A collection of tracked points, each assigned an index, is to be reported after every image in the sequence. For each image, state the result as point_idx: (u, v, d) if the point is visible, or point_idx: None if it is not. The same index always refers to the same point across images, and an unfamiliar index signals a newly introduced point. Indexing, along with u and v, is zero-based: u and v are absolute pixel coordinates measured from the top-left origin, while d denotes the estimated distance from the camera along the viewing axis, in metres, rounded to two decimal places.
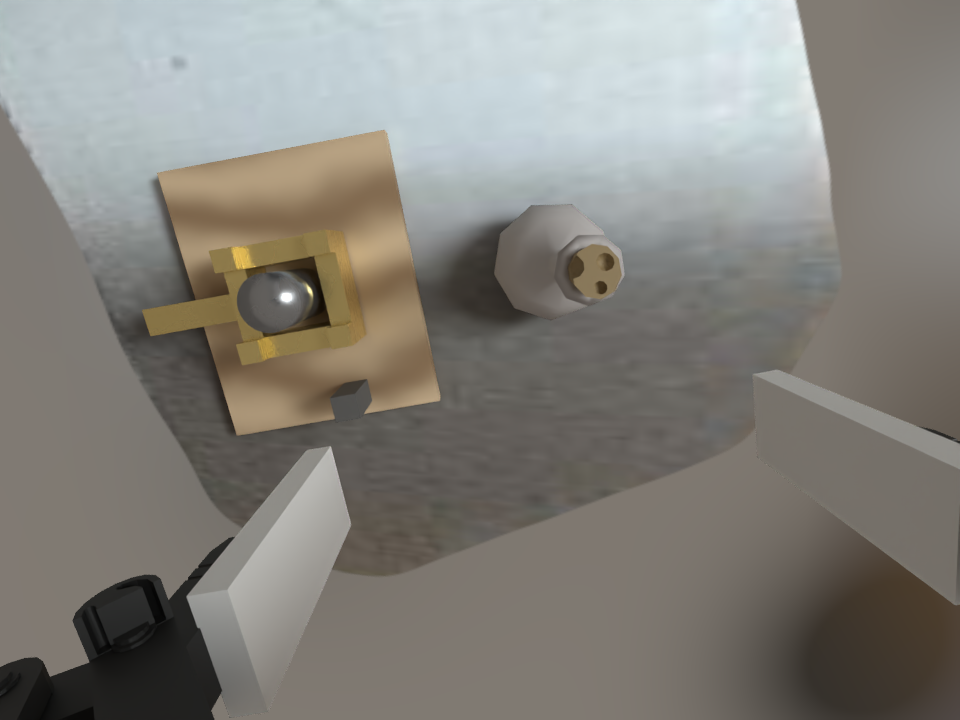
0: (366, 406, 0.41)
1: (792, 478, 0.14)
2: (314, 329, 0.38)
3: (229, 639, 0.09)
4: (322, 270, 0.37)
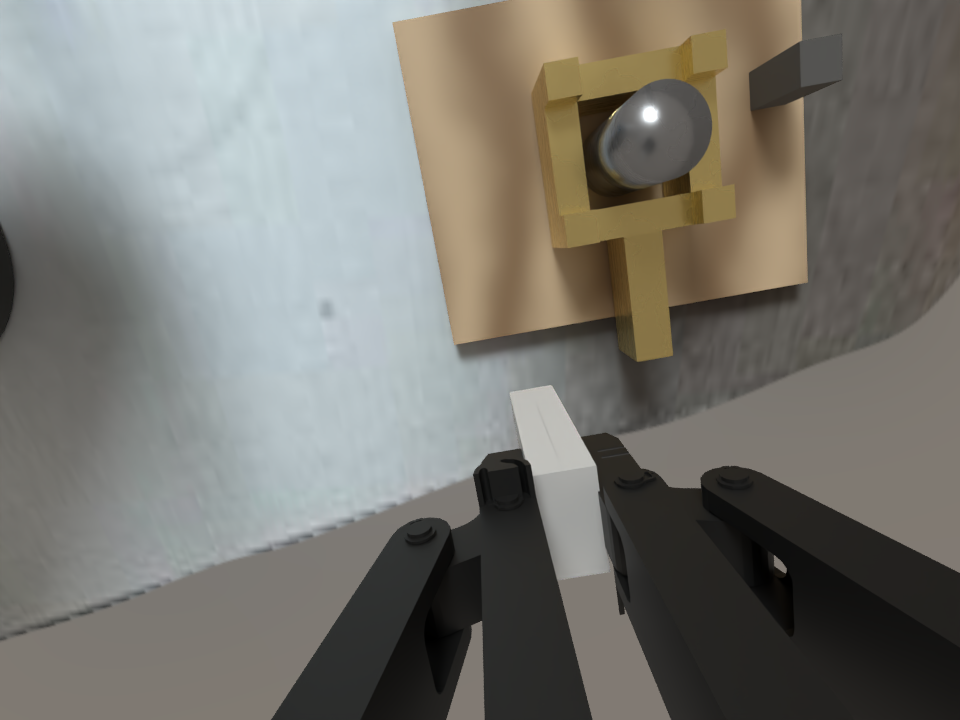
0: None
1: None
2: None
3: (558, 513, 0.11)
4: (598, 89, 0.24)
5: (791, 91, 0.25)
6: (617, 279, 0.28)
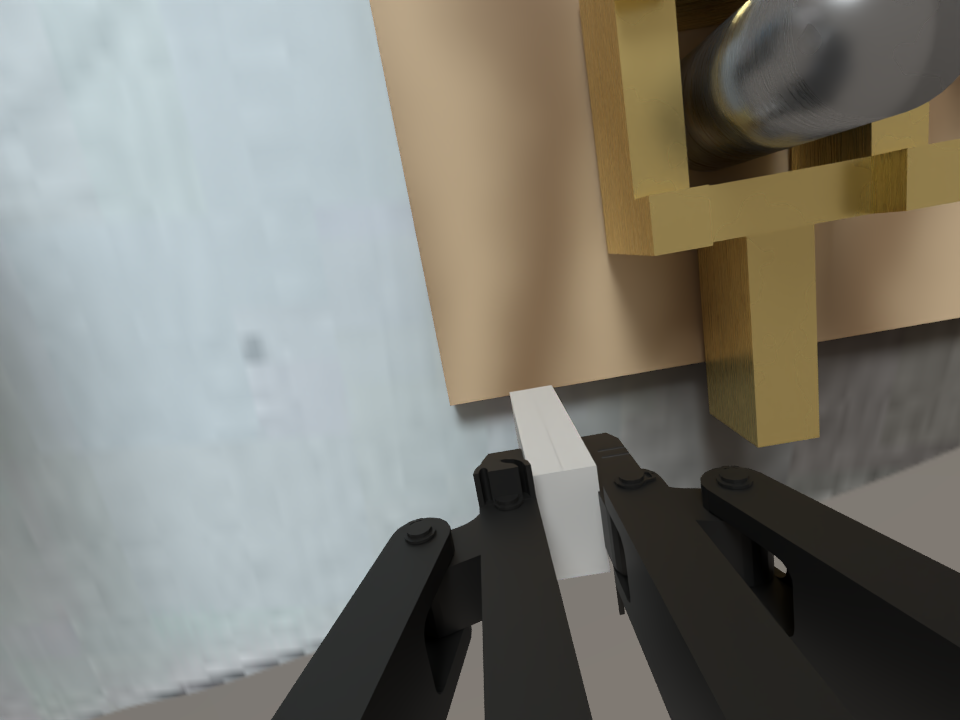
0: None
1: None
2: None
3: (558, 513, 0.11)
4: None
5: None
6: (718, 306, 0.17)
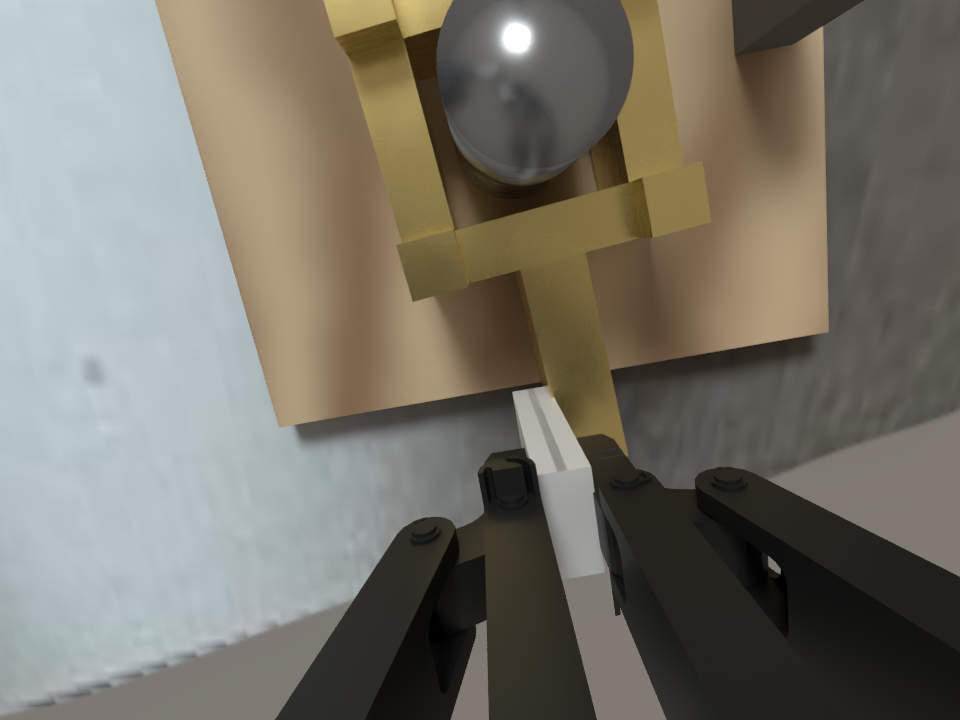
0: None
1: None
2: None
3: (562, 512, 0.11)
4: (439, 12, 0.13)
5: (802, 6, 0.14)
6: (531, 332, 0.17)
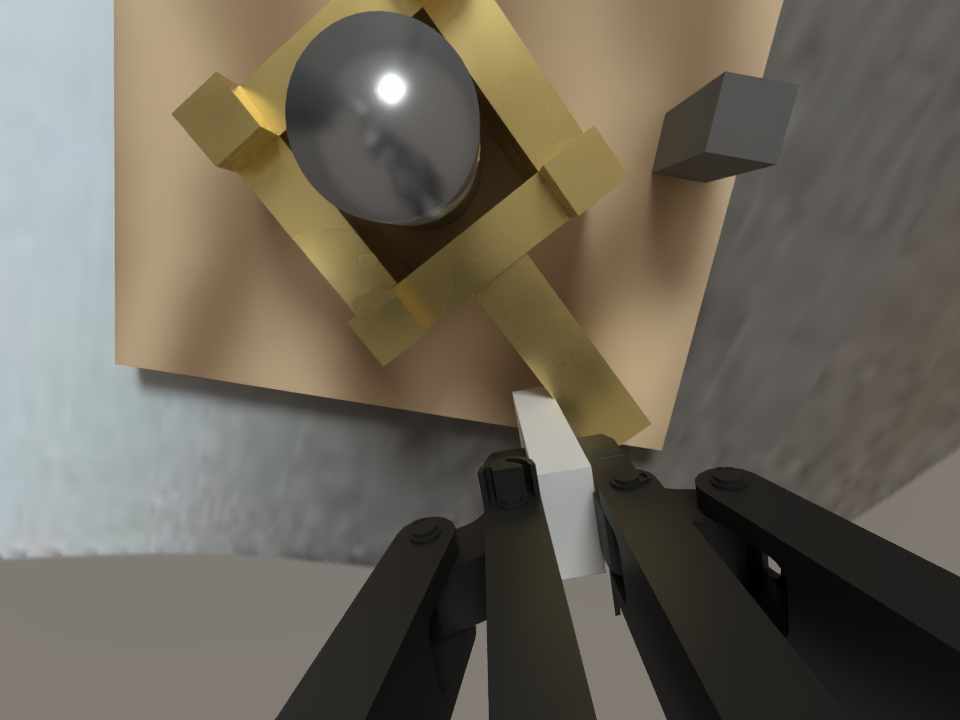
0: None
1: None
2: (455, 49, 0.13)
3: (562, 512, 0.11)
4: None
5: (694, 155, 0.14)
6: None
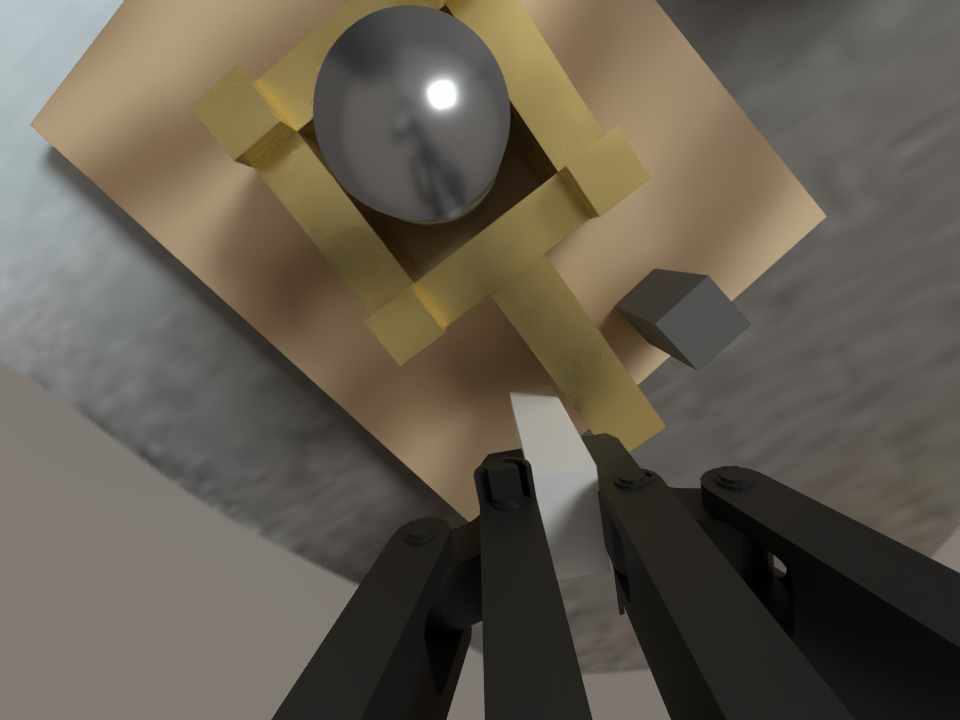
0: None
1: None
2: None
3: (558, 513, 0.11)
4: None
5: (647, 320, 0.15)
6: None
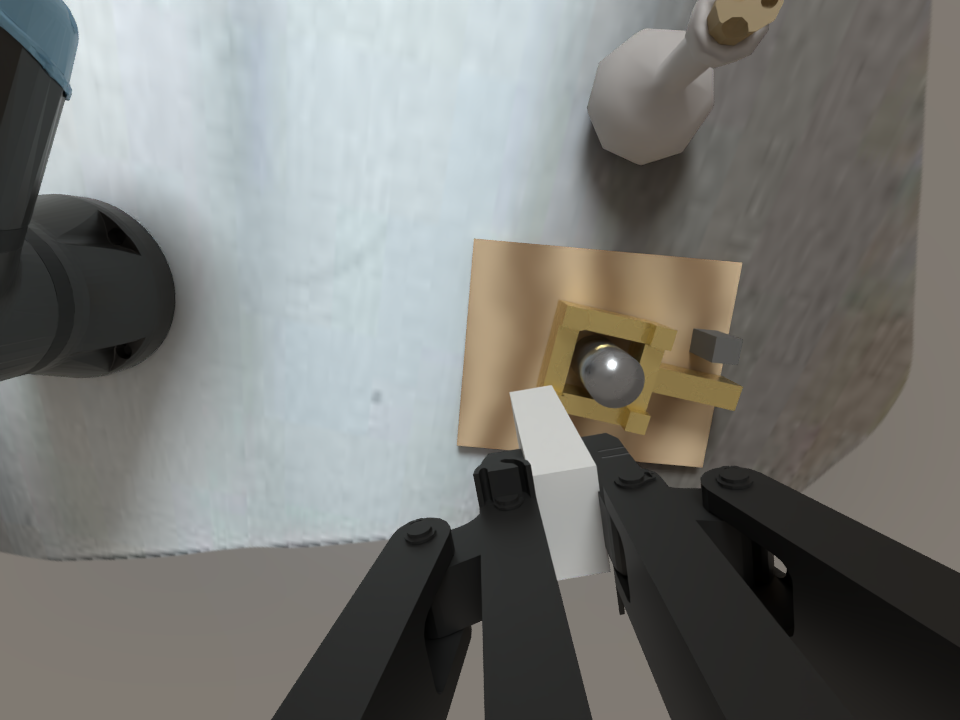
0: (726, 334, 0.40)
1: None
2: (596, 331, 0.38)
3: (558, 513, 0.11)
4: (561, 378, 0.39)
5: (708, 360, 0.39)
6: None
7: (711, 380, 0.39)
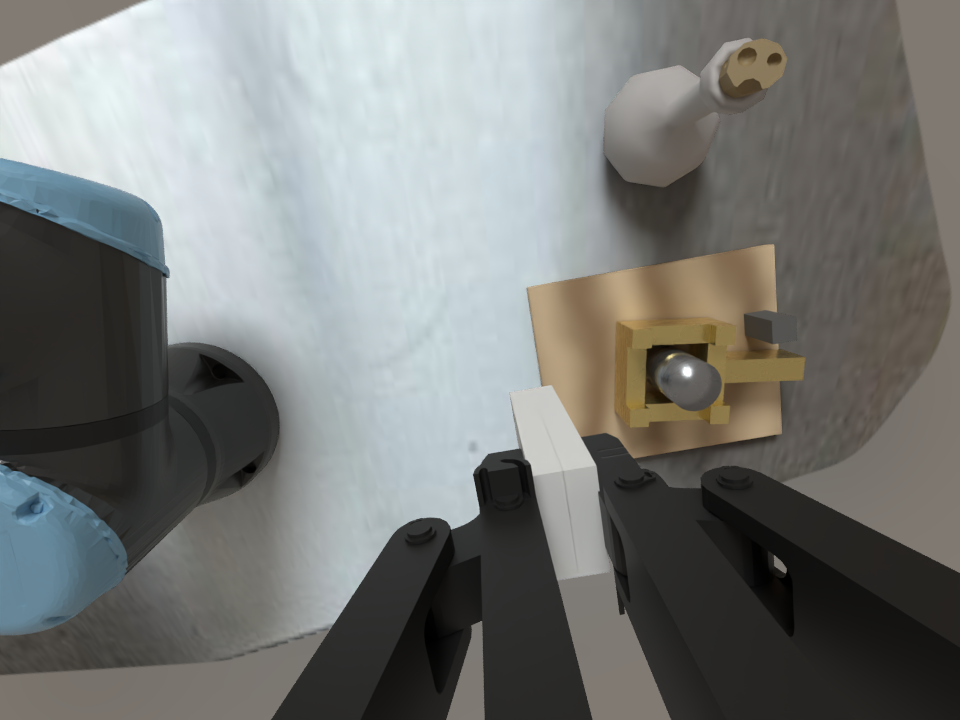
0: (776, 313, 0.43)
1: None
2: (662, 343, 0.42)
3: (558, 513, 0.11)
4: (640, 392, 0.43)
5: (767, 342, 0.42)
6: None
7: (775, 359, 0.42)
